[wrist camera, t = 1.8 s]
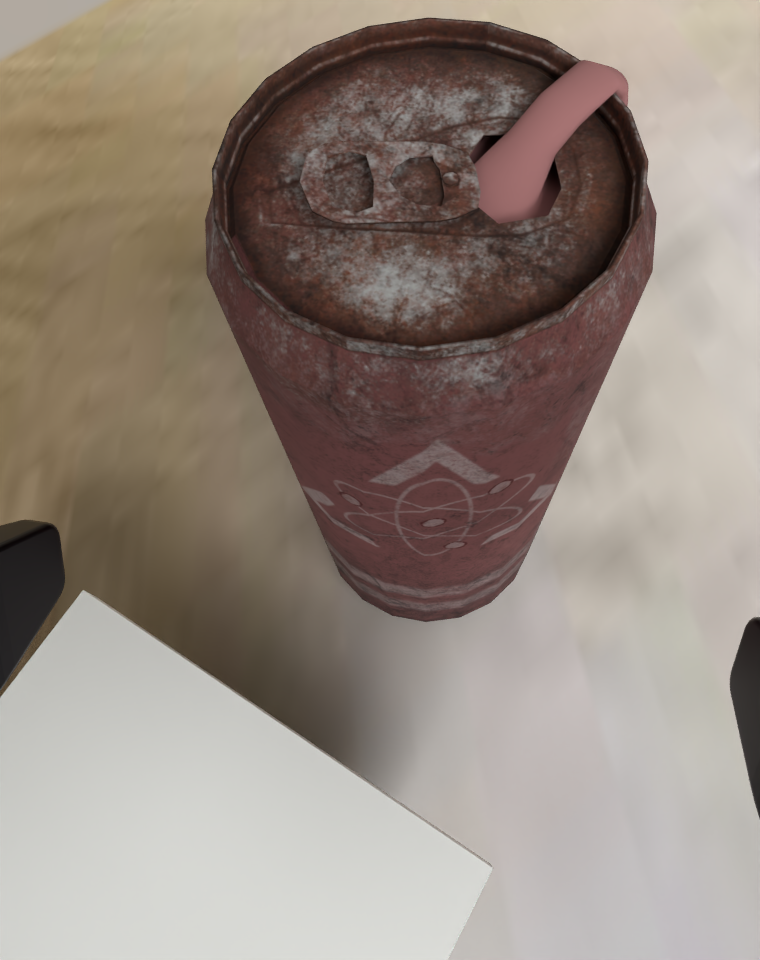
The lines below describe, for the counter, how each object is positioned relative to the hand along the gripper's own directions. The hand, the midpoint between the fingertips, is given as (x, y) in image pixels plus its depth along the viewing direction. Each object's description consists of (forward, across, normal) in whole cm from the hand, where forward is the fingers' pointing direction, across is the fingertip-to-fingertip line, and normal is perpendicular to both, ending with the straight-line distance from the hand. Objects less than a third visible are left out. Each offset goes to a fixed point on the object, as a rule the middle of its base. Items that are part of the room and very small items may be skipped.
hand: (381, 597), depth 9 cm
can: (+12, 0, +5) cm, 13 cm away
